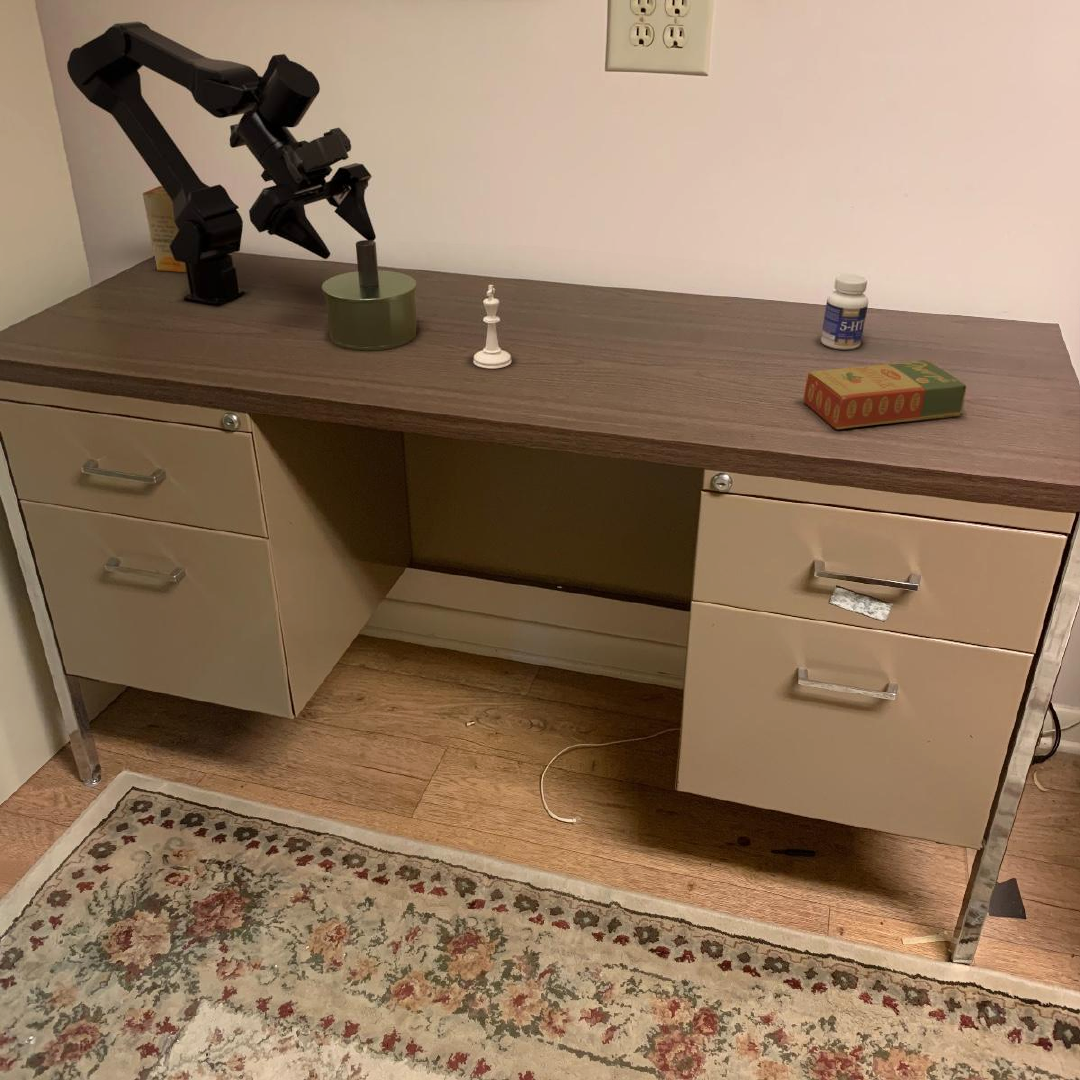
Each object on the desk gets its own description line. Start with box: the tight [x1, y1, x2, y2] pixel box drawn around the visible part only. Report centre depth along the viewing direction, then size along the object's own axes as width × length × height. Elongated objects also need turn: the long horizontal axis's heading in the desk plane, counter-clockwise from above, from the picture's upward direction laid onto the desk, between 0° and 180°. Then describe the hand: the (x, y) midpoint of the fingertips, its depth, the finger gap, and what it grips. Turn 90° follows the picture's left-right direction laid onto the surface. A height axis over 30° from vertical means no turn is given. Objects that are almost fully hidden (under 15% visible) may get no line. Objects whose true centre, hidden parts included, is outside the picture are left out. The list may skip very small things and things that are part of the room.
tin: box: [324, 291, 417, 352], centre depth 139 cm, size 12×12×6 cm
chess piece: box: [472, 284, 513, 370], centre depth 130 cm, size 5×5×10 cm
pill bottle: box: [820, 273, 869, 351], centre depth 136 cm, size 5×5×9 cm
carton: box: [802, 359, 967, 430], centre depth 119 cm, size 8×16×4 cm, turn 105°
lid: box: [321, 239, 417, 304], centre depth 135 cm, size 12×12×7 cm
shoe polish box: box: [142, 185, 187, 273], centre depth 163 cm, size 5×5×12 cm
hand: (351, 248), depth 135 cm, fingers open, 9 cm apart
